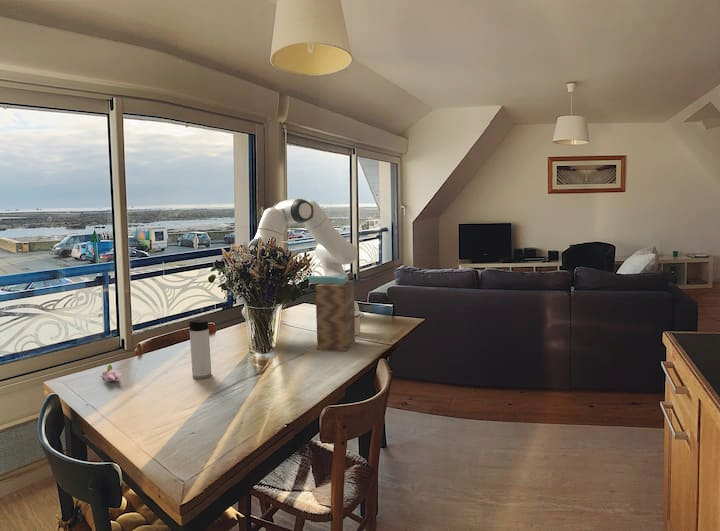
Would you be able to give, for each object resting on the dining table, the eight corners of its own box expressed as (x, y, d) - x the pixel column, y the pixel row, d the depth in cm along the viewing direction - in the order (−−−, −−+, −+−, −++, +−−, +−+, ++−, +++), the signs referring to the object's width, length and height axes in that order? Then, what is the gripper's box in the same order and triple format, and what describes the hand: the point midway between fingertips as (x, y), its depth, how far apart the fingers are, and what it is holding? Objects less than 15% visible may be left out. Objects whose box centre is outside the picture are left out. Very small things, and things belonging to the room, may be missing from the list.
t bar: (298, 283, 206) (298, 277, 206) (305, 280, 214) (305, 274, 214) (343, 284, 202) (343, 278, 202) (348, 281, 210) (348, 275, 209)
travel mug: (188, 379, 174) (184, 321, 172) (197, 372, 181) (194, 317, 178) (206, 380, 173) (202, 322, 170) (214, 373, 180) (211, 317, 177)
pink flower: (97, 381, 178) (107, 386, 166) (95, 364, 178) (105, 368, 166) (117, 377, 182) (127, 382, 170) (115, 360, 182) (125, 364, 170)
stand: (317, 349, 205) (315, 285, 202) (327, 340, 219) (325, 279, 215) (346, 351, 202) (345, 286, 199) (354, 341, 216) (353, 280, 212)
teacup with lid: (363, 331, 231) (363, 306, 229) (355, 337, 223) (355, 310, 221) (339, 329, 236) (339, 304, 234) (330, 334, 227) (330, 308, 226)
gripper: (262, 297, 204) (289, 281, 200) (281, 288, 224) (307, 273, 220) (270, 311, 204) (298, 295, 200) (289, 300, 224) (314, 285, 220)
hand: (302, 283), depth 210 cm, fingers open, 8 cm apart
